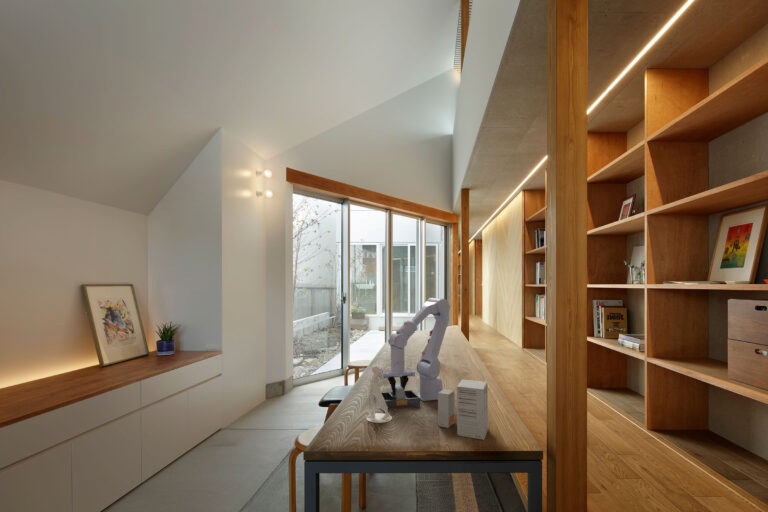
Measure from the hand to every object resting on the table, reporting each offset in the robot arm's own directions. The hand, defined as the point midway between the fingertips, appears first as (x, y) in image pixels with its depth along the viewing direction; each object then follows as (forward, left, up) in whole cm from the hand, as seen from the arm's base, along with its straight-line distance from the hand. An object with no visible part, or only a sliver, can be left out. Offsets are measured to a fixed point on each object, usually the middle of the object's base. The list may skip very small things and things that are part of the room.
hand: (397, 394), depth 168 cm
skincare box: (-11, +26, -4) cm, 29 cm away
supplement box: (-17, +35, -4) cm, 39 cm away
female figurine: (+14, +12, -4) cm, 19 cm away
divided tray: (0, 0, -4) cm, 4 cm away
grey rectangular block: (0, +1, -3) cm, 3 cm away
